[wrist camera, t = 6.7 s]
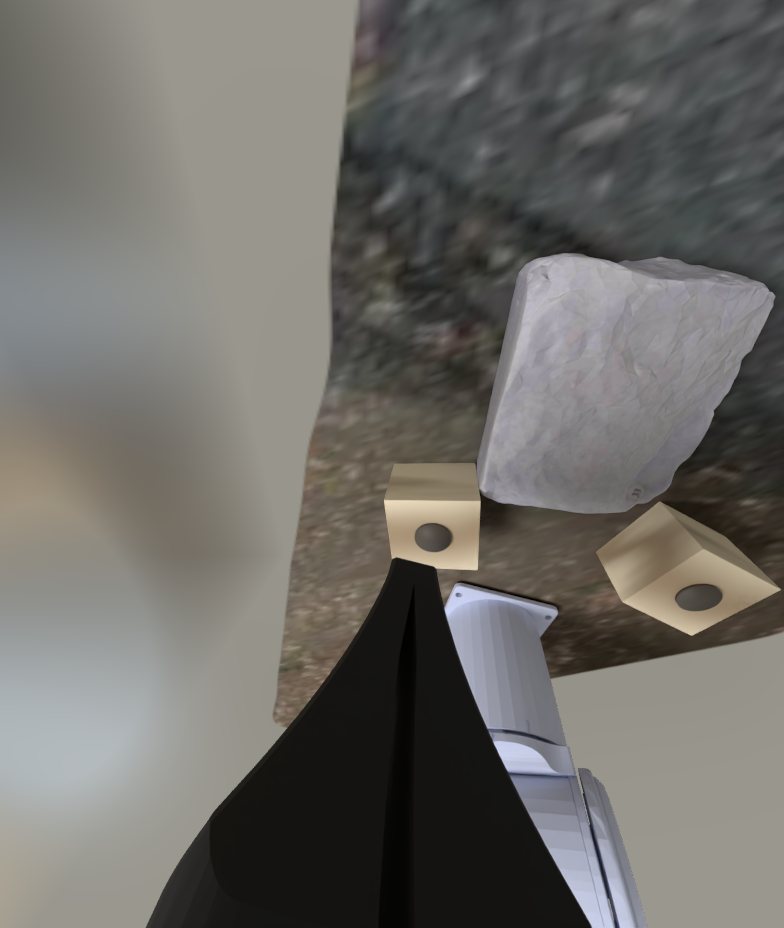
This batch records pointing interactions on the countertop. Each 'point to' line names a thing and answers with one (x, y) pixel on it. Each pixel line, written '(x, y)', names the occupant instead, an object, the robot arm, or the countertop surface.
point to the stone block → (611, 378)
